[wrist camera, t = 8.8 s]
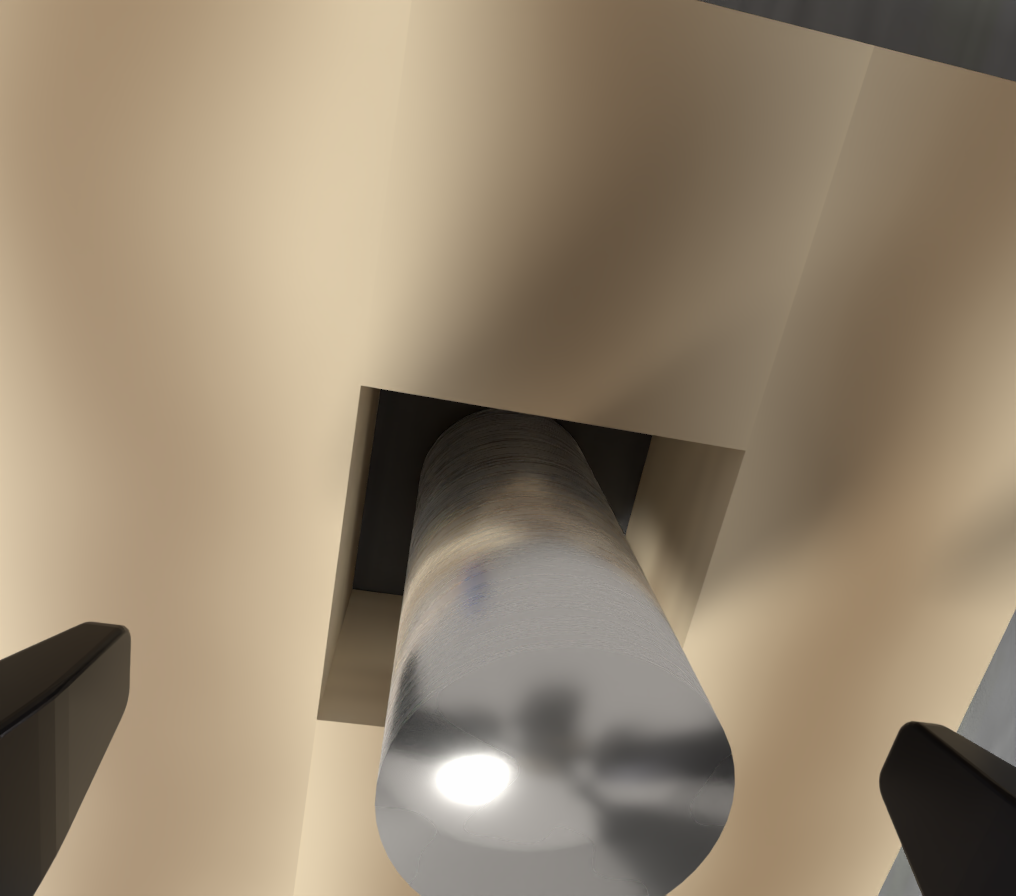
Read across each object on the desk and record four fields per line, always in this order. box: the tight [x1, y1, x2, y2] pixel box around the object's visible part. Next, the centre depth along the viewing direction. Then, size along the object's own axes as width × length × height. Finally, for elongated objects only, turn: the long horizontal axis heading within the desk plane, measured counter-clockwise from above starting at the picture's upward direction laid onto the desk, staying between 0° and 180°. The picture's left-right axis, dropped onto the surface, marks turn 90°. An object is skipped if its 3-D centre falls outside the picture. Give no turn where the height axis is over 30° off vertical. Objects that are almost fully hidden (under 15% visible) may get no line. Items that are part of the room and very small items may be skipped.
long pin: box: [375, 408, 735, 896], centre depth 11 cm, size 4×4×8 cm
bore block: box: [0, 0, 1016, 896], centre depth 12 cm, size 16×16×4 cm
